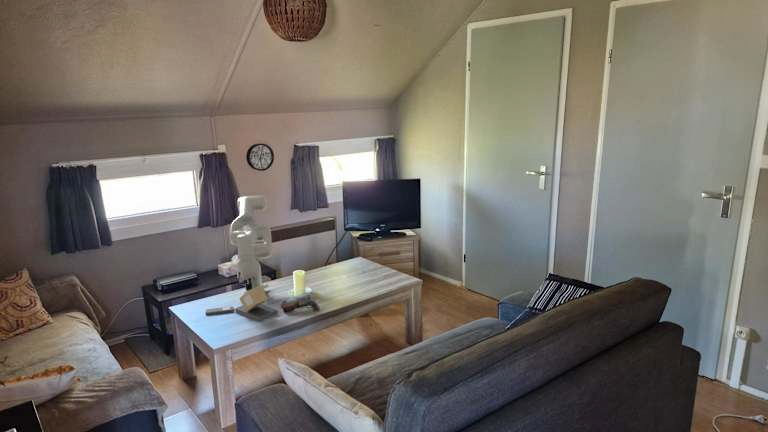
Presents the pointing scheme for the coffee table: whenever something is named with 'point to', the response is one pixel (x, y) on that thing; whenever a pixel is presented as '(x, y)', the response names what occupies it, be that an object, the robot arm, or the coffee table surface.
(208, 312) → the remote
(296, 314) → the coffee table surface
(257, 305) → the carton
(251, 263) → the robot arm
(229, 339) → the coffee table surface
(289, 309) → the toy gun
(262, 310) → the podium
